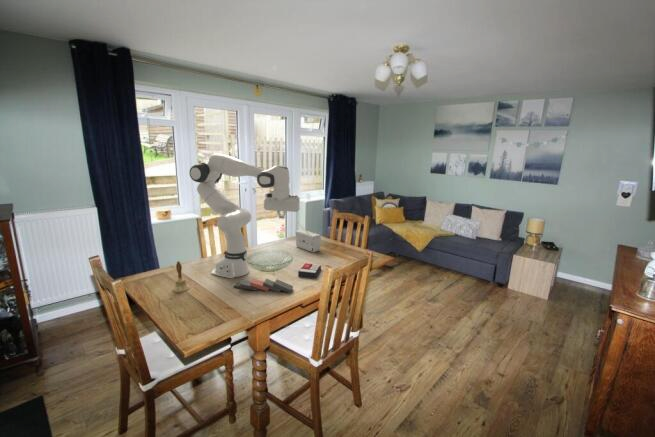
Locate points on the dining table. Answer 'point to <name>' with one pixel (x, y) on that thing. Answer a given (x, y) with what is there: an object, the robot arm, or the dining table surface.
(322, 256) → the dining table surface
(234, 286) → the domino
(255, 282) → the domino
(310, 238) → the stereo radio cassette player
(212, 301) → the dining table surface
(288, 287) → the domino
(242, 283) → the domino
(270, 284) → the domino
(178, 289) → the hand bell
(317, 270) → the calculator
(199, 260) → the dining table surface
